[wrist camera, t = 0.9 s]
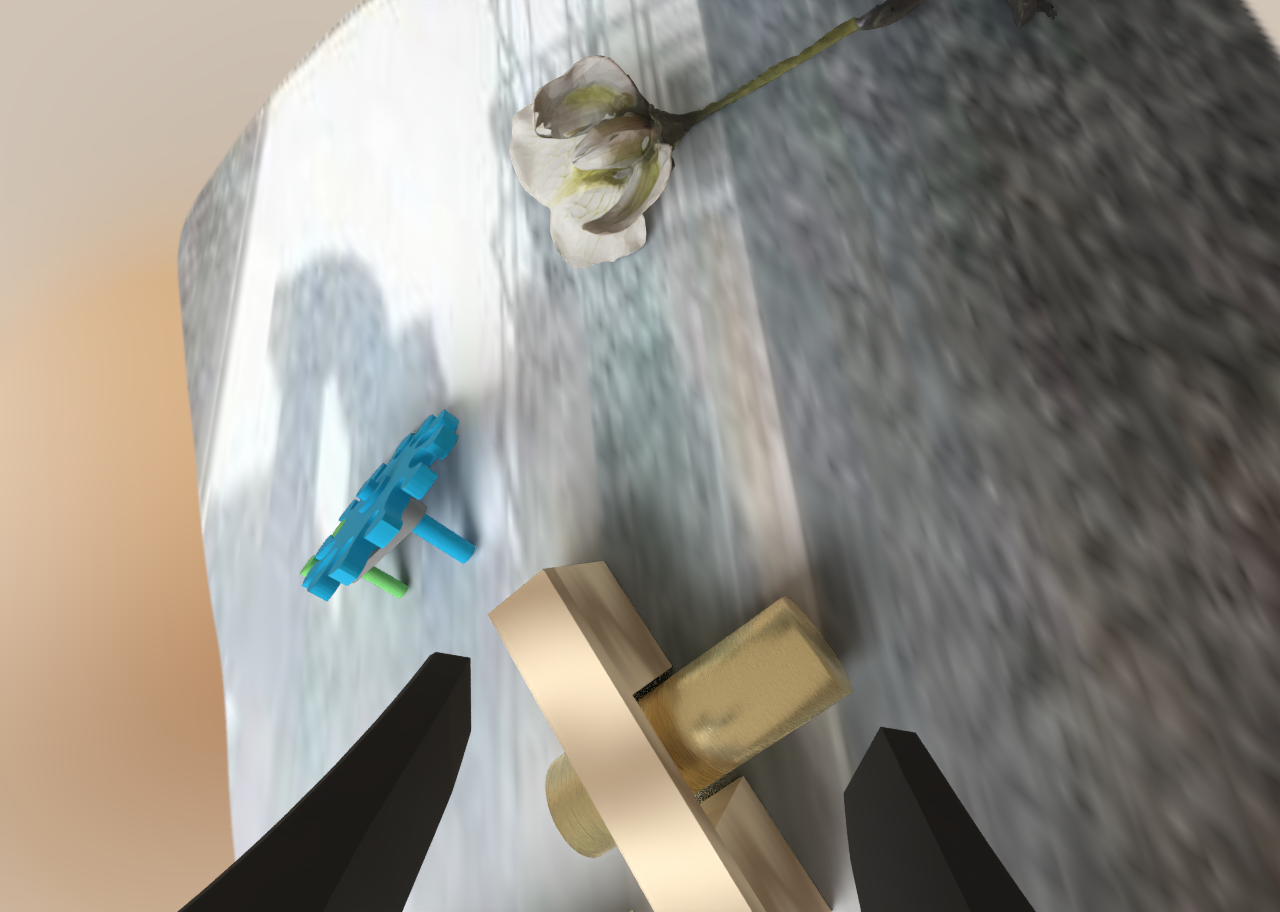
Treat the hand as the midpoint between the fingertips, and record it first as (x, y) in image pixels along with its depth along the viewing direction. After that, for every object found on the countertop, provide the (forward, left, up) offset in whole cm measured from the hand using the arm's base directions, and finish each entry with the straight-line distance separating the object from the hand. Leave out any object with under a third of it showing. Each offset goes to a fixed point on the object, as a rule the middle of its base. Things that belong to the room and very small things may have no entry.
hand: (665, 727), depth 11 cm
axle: (-1, +5, -13) cm, 14 cm away
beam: (-2, +7, -15) cm, 16 cm away
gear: (+14, +12, -15) cm, 24 cm away
